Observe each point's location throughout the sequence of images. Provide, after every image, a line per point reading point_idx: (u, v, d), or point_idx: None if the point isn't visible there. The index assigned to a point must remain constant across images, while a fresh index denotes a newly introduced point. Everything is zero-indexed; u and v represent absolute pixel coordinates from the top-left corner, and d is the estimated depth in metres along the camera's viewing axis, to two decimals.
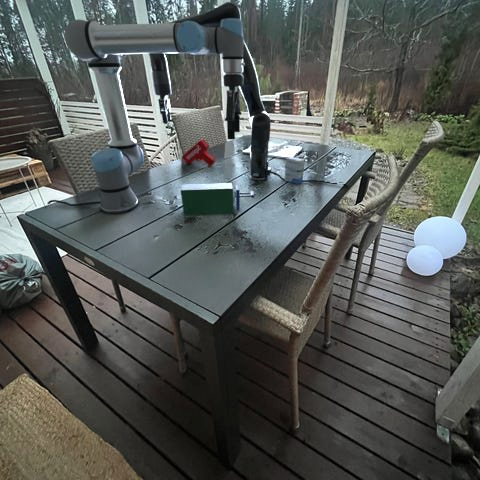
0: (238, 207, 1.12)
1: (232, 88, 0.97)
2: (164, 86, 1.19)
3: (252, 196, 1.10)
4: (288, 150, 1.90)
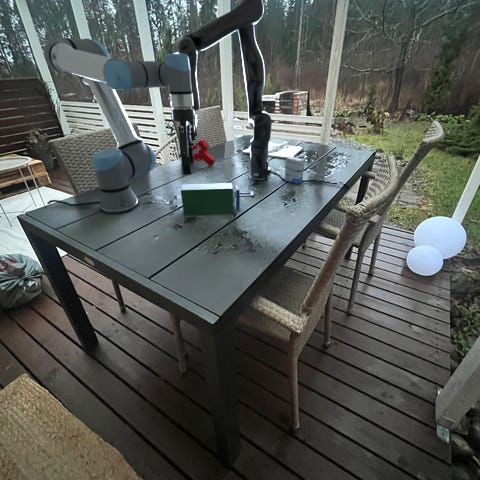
0: (238, 207, 1.12)
1: None
2: (193, 101, 1.10)
3: (252, 196, 1.10)
4: (288, 150, 1.90)
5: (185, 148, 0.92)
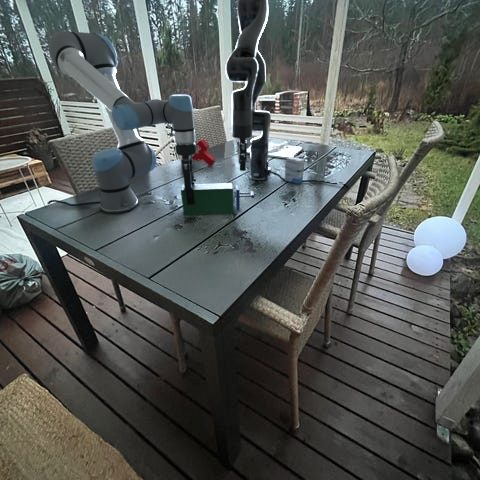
0: (238, 207, 1.12)
1: None
2: None
3: (252, 196, 1.10)
4: (288, 150, 1.90)
5: (189, 183, 1.01)
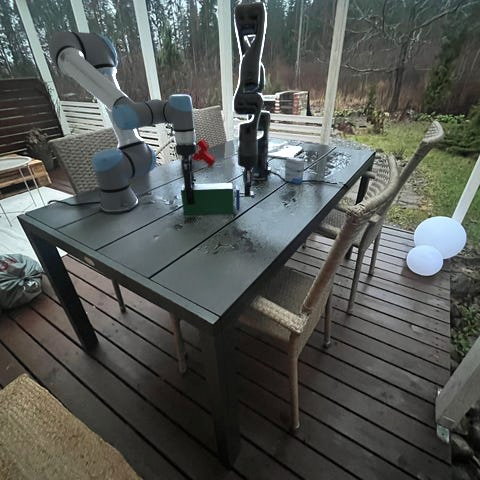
0: (238, 207, 1.12)
1: None
2: None
3: (252, 196, 1.10)
4: (288, 150, 1.90)
5: (189, 183, 1.01)
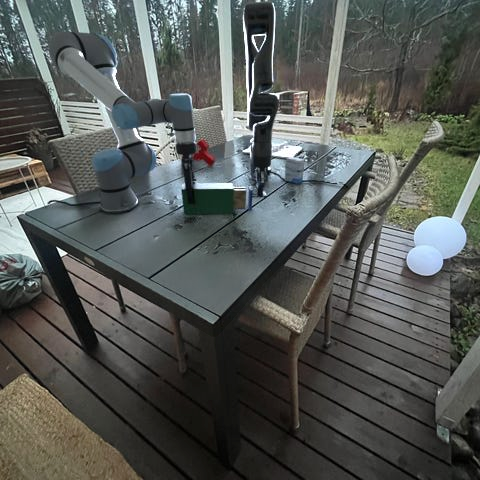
0: (250, 207, 1.12)
1: None
2: None
3: (265, 197, 1.11)
4: (288, 150, 1.90)
5: (189, 183, 1.01)
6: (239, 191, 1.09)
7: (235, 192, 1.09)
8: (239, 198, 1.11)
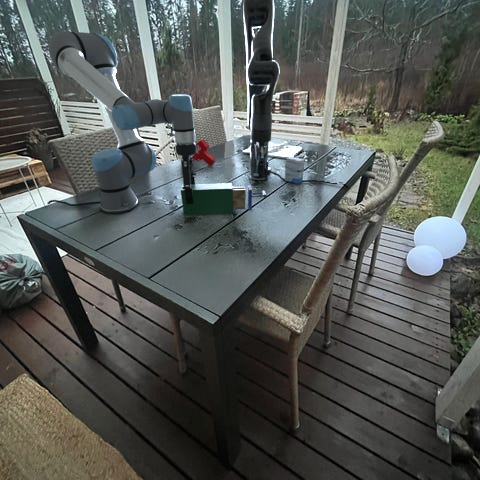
0: (250, 207, 1.12)
1: None
2: None
3: (264, 196, 1.10)
4: (288, 150, 1.90)
5: (188, 181, 0.98)
6: (238, 191, 1.09)
7: (234, 192, 1.09)
8: (239, 198, 1.10)
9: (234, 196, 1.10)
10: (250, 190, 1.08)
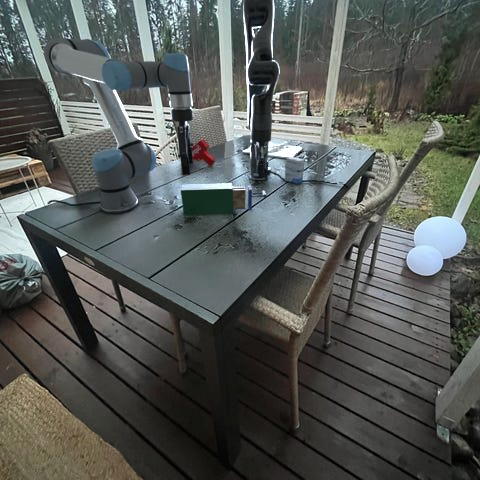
0: (250, 207, 1.12)
1: None
2: None
3: (264, 196, 1.10)
4: (288, 150, 1.90)
5: (184, 148, 0.91)
6: (238, 191, 1.09)
7: (234, 192, 1.09)
8: (239, 198, 1.10)
9: (234, 196, 1.10)
10: (250, 190, 1.08)
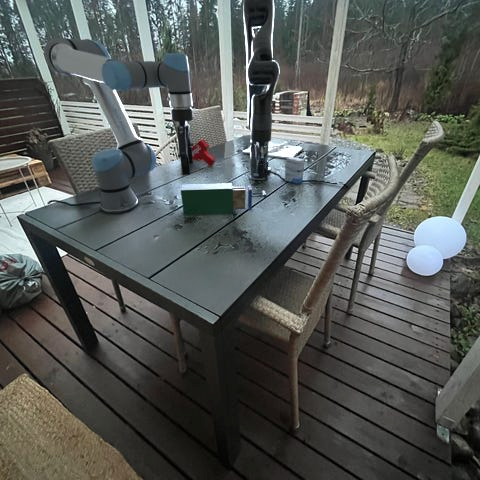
0: (250, 207, 1.12)
1: None
2: None
3: (264, 196, 1.10)
4: (288, 150, 1.90)
5: (184, 148, 0.91)
6: (238, 191, 1.09)
7: (234, 192, 1.09)
8: (239, 198, 1.10)
9: (234, 196, 1.10)
10: (250, 190, 1.08)
